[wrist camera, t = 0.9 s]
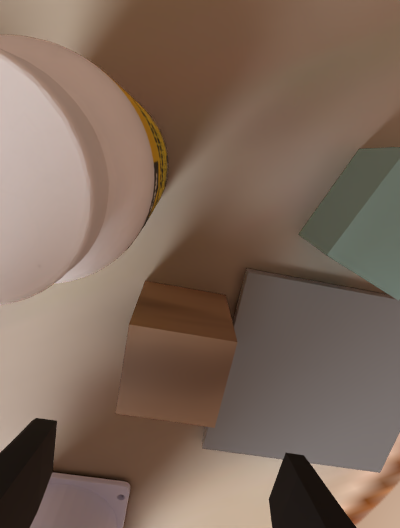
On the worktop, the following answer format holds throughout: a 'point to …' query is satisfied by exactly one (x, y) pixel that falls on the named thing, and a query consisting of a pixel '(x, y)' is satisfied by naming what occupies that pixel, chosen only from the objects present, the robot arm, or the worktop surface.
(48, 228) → the pill bottle
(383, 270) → the teal block
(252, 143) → the worktop surface
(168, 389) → the walnut block
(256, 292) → the slate coaster
